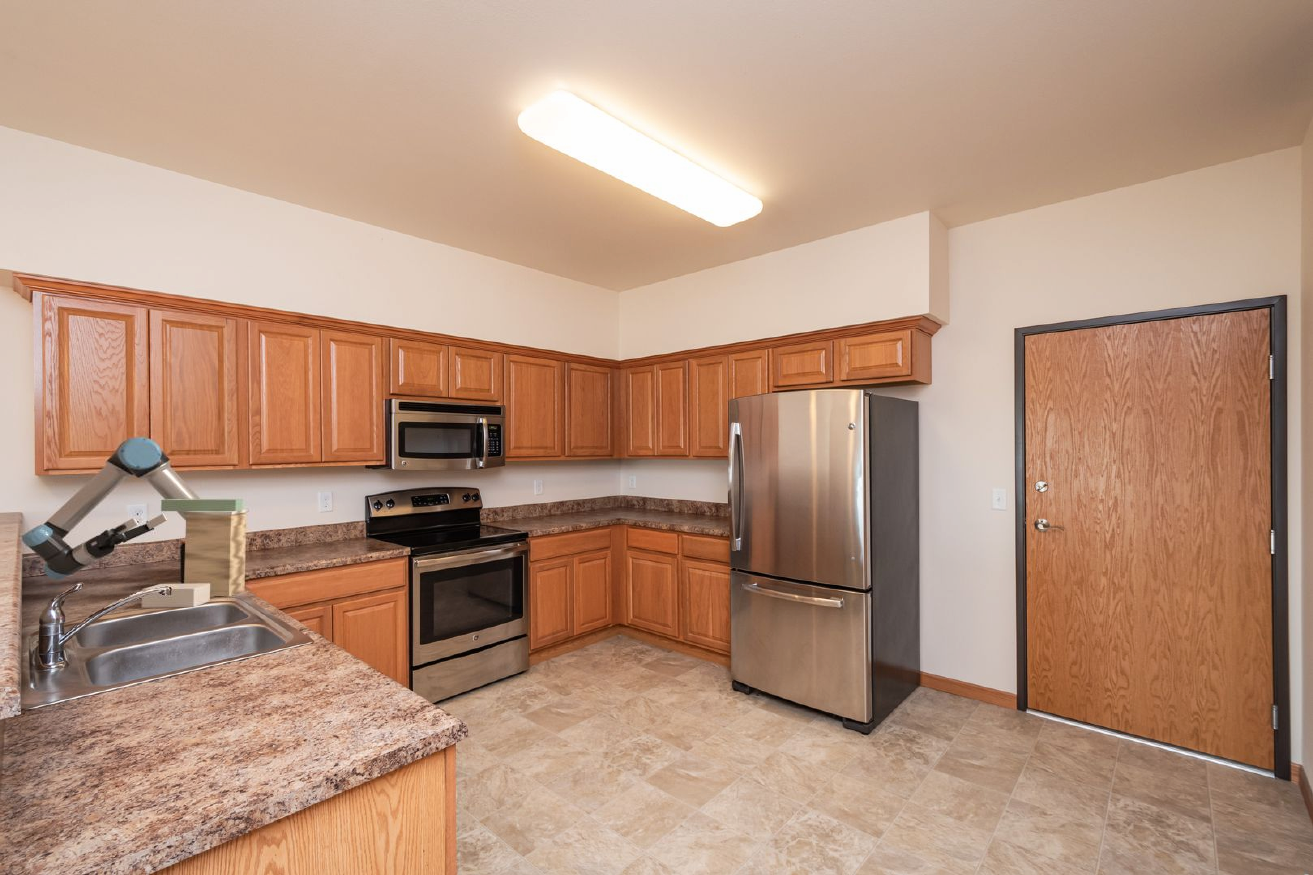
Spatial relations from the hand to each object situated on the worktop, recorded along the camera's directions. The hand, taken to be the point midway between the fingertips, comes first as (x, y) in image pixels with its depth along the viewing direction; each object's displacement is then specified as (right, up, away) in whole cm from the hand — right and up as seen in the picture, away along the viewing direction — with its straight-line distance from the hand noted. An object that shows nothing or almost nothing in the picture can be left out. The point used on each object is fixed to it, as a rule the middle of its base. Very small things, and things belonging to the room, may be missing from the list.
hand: (151, 518), depth 211 cm
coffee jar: (+6, -27, +14) cm, 31 cm away
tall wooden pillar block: (+22, -27, +1) cm, 35 cm away
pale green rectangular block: (+17, +3, +2) cm, 17 cm away
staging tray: (+20, -27, -13) cm, 36 cm away
